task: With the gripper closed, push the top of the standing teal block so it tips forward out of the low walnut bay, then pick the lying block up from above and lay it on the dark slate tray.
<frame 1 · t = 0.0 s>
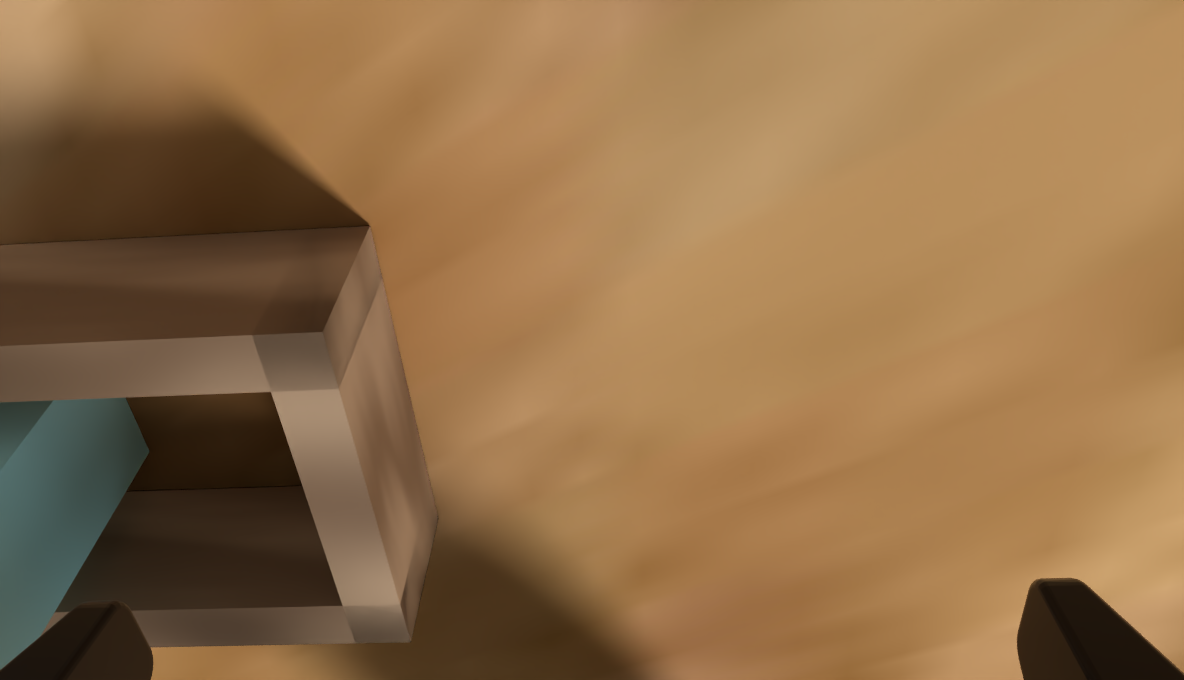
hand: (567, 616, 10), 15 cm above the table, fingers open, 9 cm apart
bay: (194, 396, 28), on the table
block: (56, 400, 28), on the table
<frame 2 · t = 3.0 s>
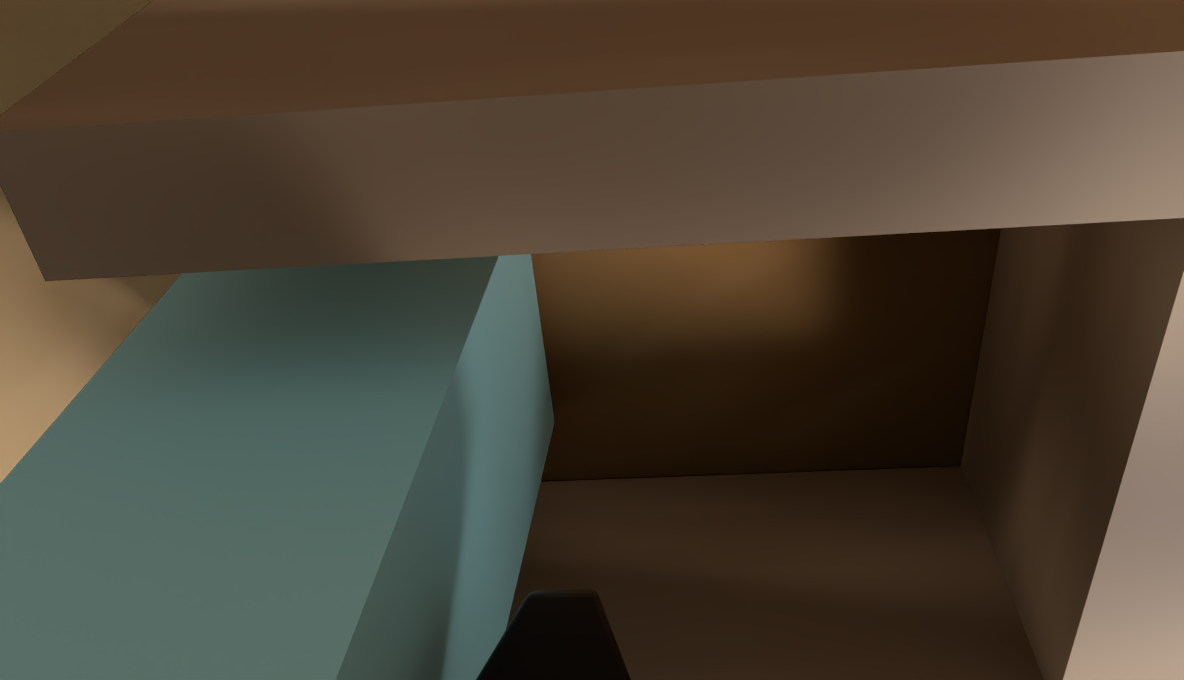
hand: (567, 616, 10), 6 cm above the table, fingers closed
bay: (676, 300, 15), on the table
block: (408, 317, 15), on the table, touching gripper
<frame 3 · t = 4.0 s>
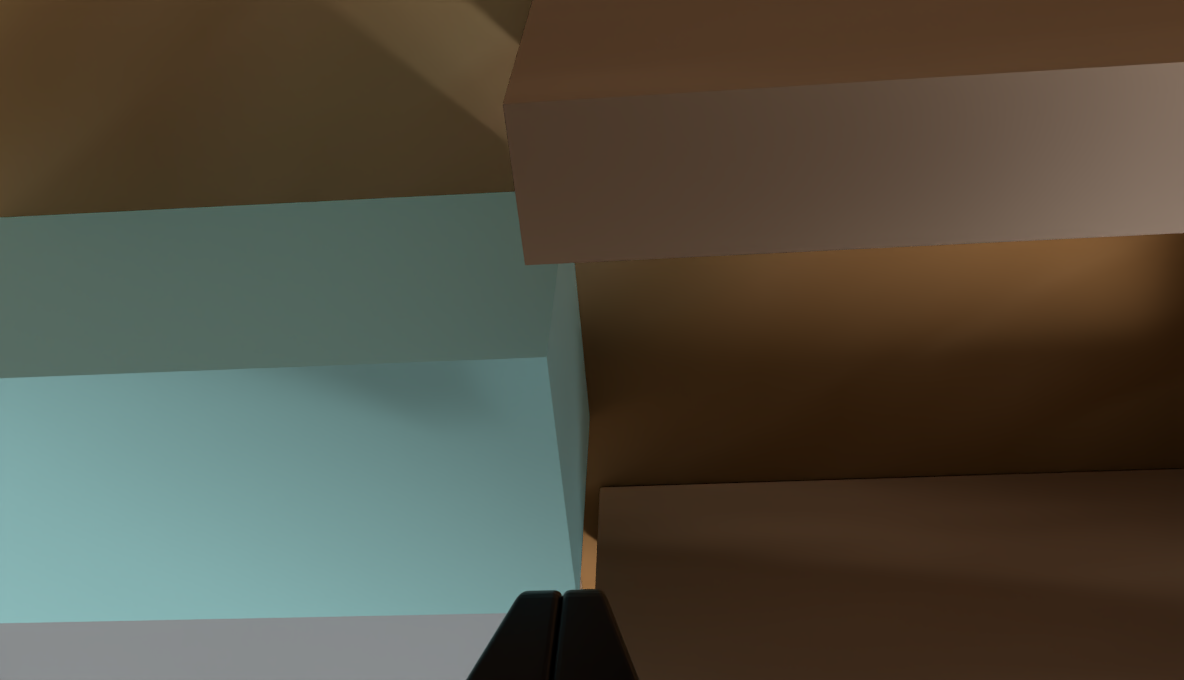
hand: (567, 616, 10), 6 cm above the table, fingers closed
bay: (1006, 292, 14), on the table
block: (573, 389, 13), point 2 cm above the table, tilted 90°
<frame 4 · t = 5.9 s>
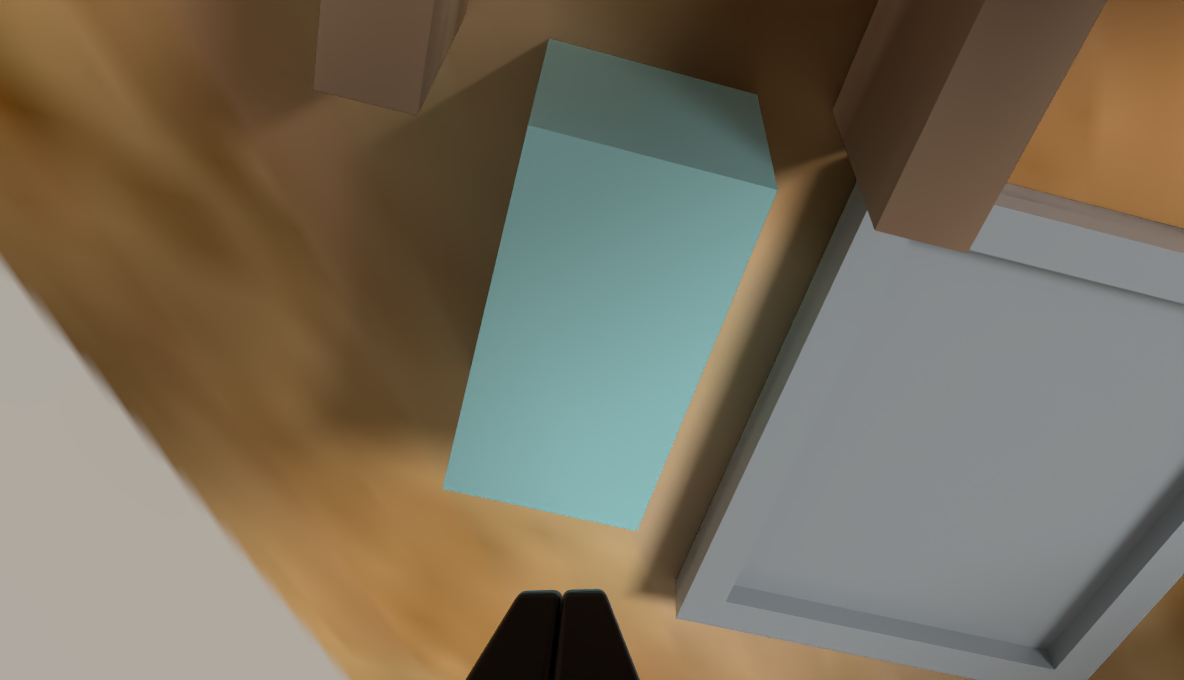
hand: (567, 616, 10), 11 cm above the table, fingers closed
tray: (980, 451, 23), on the table
block: (654, 106, 17), point 2 cm above the table, tilted 90°
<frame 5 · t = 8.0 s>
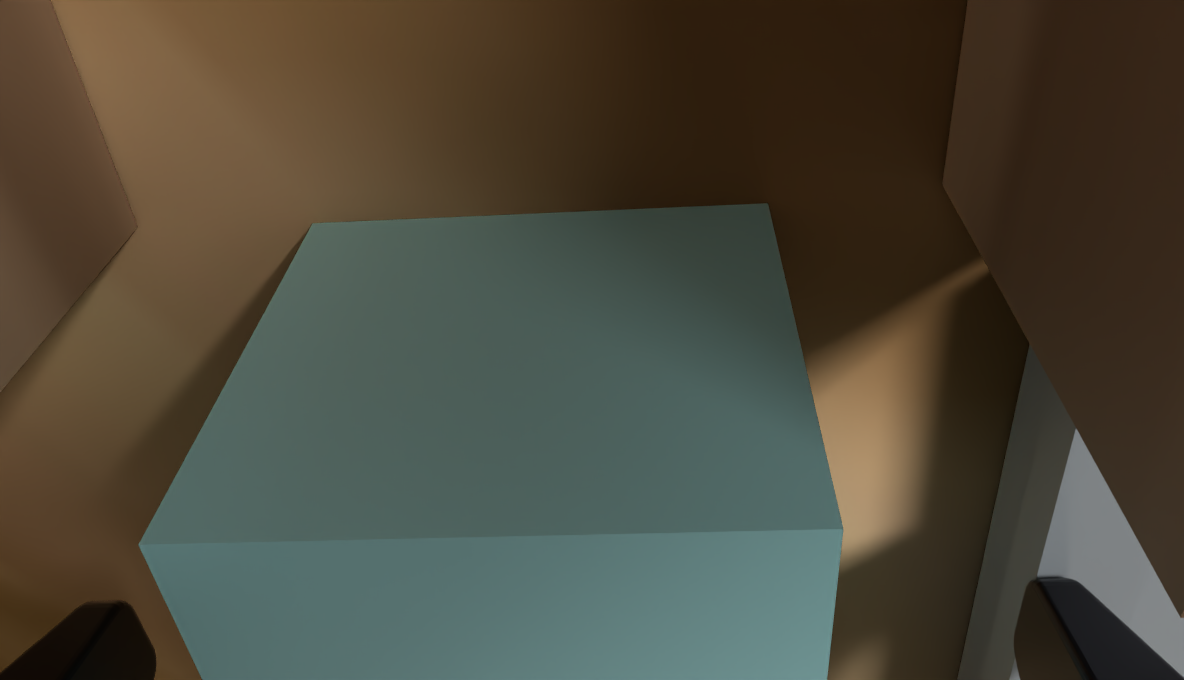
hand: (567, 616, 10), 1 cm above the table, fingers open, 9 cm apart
block: (516, 332, 7), point 2 cm above the table, tilted 90°
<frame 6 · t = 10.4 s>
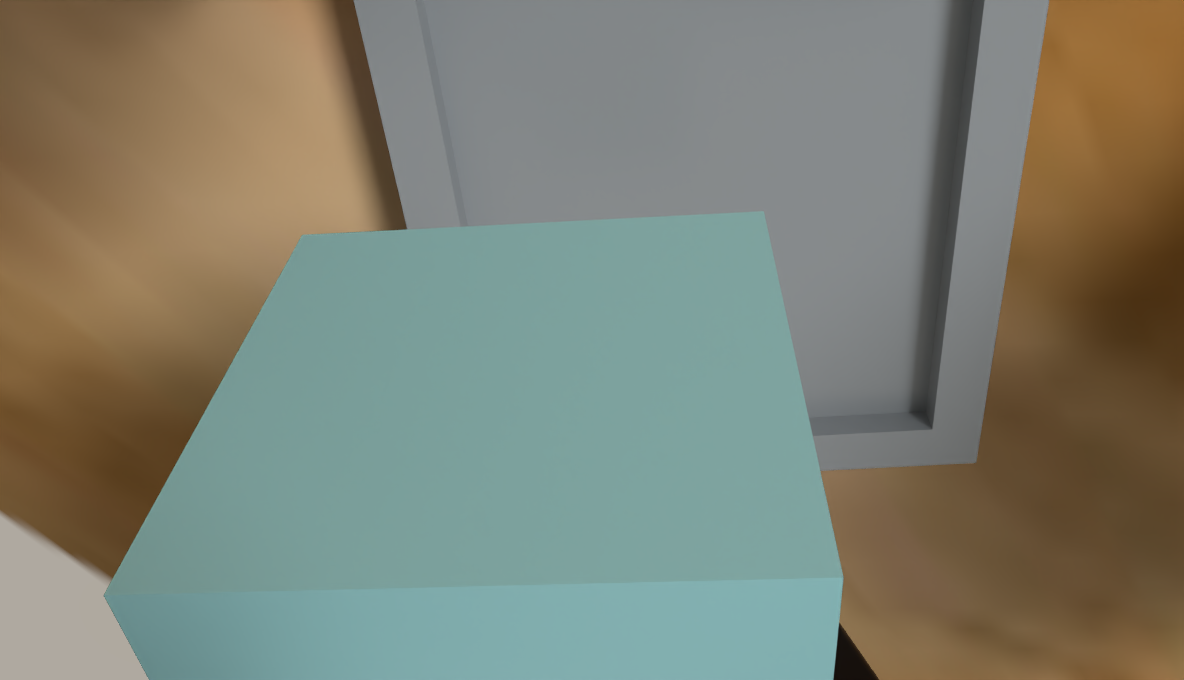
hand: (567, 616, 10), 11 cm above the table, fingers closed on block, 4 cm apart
tray: (702, 180, 19), on the table
block: (503, 362, 7), point 12 cm above the table, tilted 90°, touching gripper
when the fingers open (3 cm above the table, at t = 12.4 s): block drops 1 cm, resting on tray.
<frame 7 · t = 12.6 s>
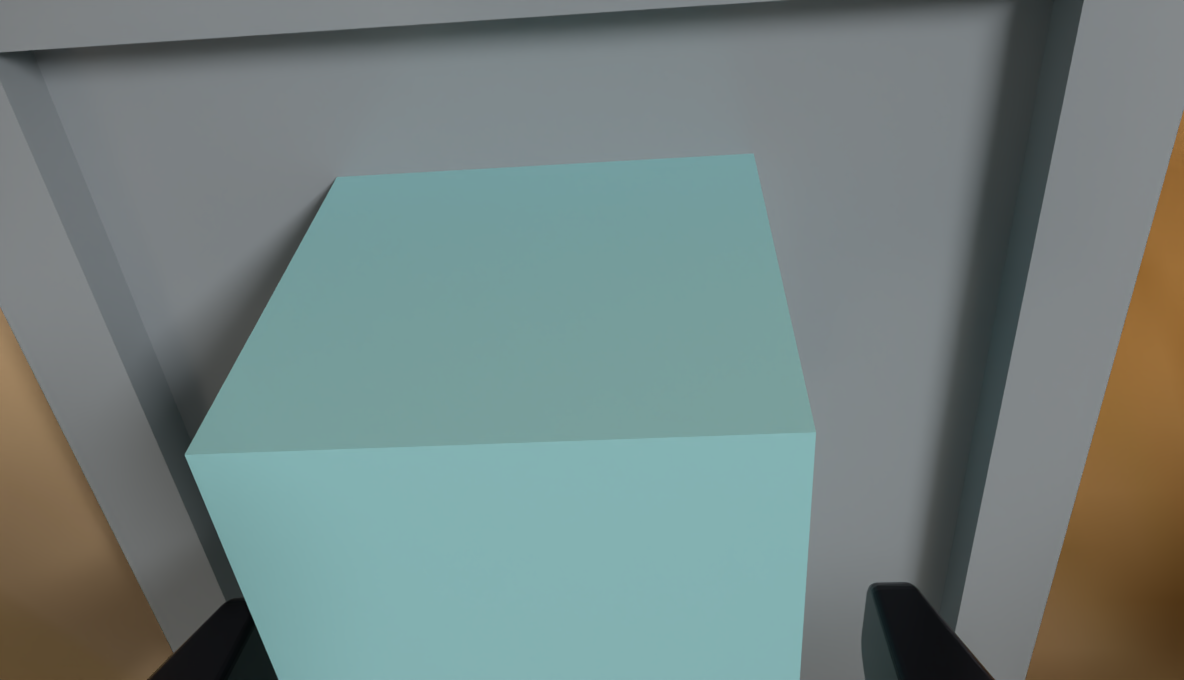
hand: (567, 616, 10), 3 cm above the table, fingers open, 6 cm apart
tray: (579, 435, 12), on the table
block: (522, 275, 8), point 3 cm above the table, tilted 90°, touching tray
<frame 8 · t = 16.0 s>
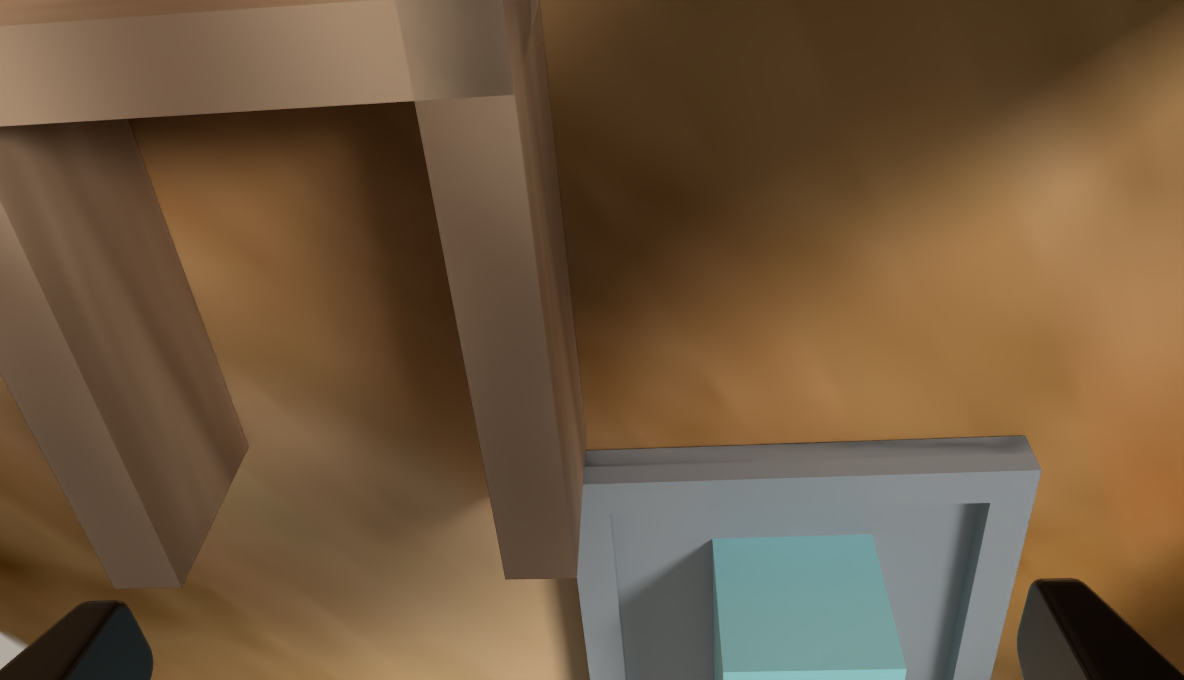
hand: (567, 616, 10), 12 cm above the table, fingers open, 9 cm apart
tray: (783, 618, 28), on the table
bay: (329, 230, 21), on the table
block: (802, 598, 24), point 3 cm above the table, tilted 90°, touching tray
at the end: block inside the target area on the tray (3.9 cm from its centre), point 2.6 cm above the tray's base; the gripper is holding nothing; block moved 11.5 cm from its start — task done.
